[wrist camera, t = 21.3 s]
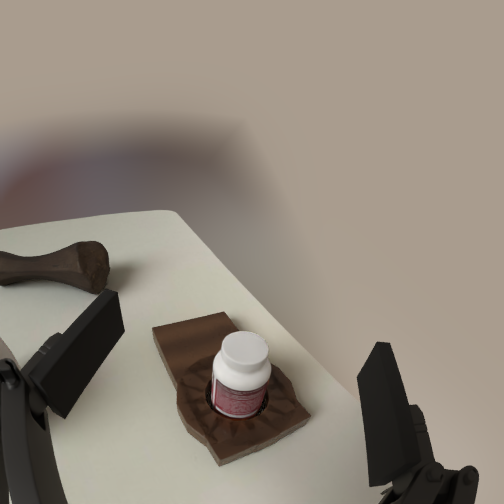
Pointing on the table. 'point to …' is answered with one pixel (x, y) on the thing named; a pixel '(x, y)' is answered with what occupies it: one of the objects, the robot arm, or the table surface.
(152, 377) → the table surface
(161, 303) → the table surface
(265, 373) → the pill bottle
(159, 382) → the table surface
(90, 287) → the dark brown bone
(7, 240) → the table surface
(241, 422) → the plate
